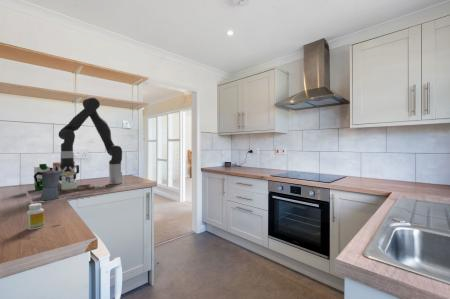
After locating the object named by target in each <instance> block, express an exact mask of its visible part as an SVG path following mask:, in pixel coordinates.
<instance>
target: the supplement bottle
mask: <svg viewBox="0 0 450 299" xmlns="http://www.w3.org/2000/svg"><path fill="white" fill-rule="evenodd" d="M28 209H29V210H27V212H26V226H27V227H26V228H27V230H31V231H32V230H38V229H41V228H44V227H45V209H44V208H42V203H40V202H39V203H31V204H29V205H28Z"/></svg>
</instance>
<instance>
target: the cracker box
mask: <svg viewBox="0 0 450 299" xmlns="http://www.w3.org/2000/svg"><path fill="white" fill-rule="evenodd" d="M75 163H76V161H74V165H76V164H75ZM56 166H57V167H58V166H61V161H58V162H56V161H55V162H52V168H53V169H52V170H54V171H55V167H56ZM61 170H62V169H61V168H59V169H58V171H61ZM73 170H74V171H75V172H76V168H75V167H74V168H73ZM73 174H74V173H73V172H72V171H67V172H63V173H62V175H61V176H62V181H66V178H65V176H69V177H70V180H74V179H73ZM67 180H68V179H67ZM74 181H76V179H75V180H74ZM59 182H61V181H60V180H59Z"/></svg>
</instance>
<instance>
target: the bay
mask: <svg viewBox="0 0 450 299" xmlns="http://www.w3.org/2000/svg"><path fill="white" fill-rule="evenodd" d="M57 187H58V195H59V194H60V195H61V194H65V193H67V194H68V193H74V192H80V191H81V192H83V191H89V190H95V189H96V186H95V185H92V184H91V183H86V184H80V185H79V184H77V188H75V189H67V190H59V182H58V186H57Z"/></svg>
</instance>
